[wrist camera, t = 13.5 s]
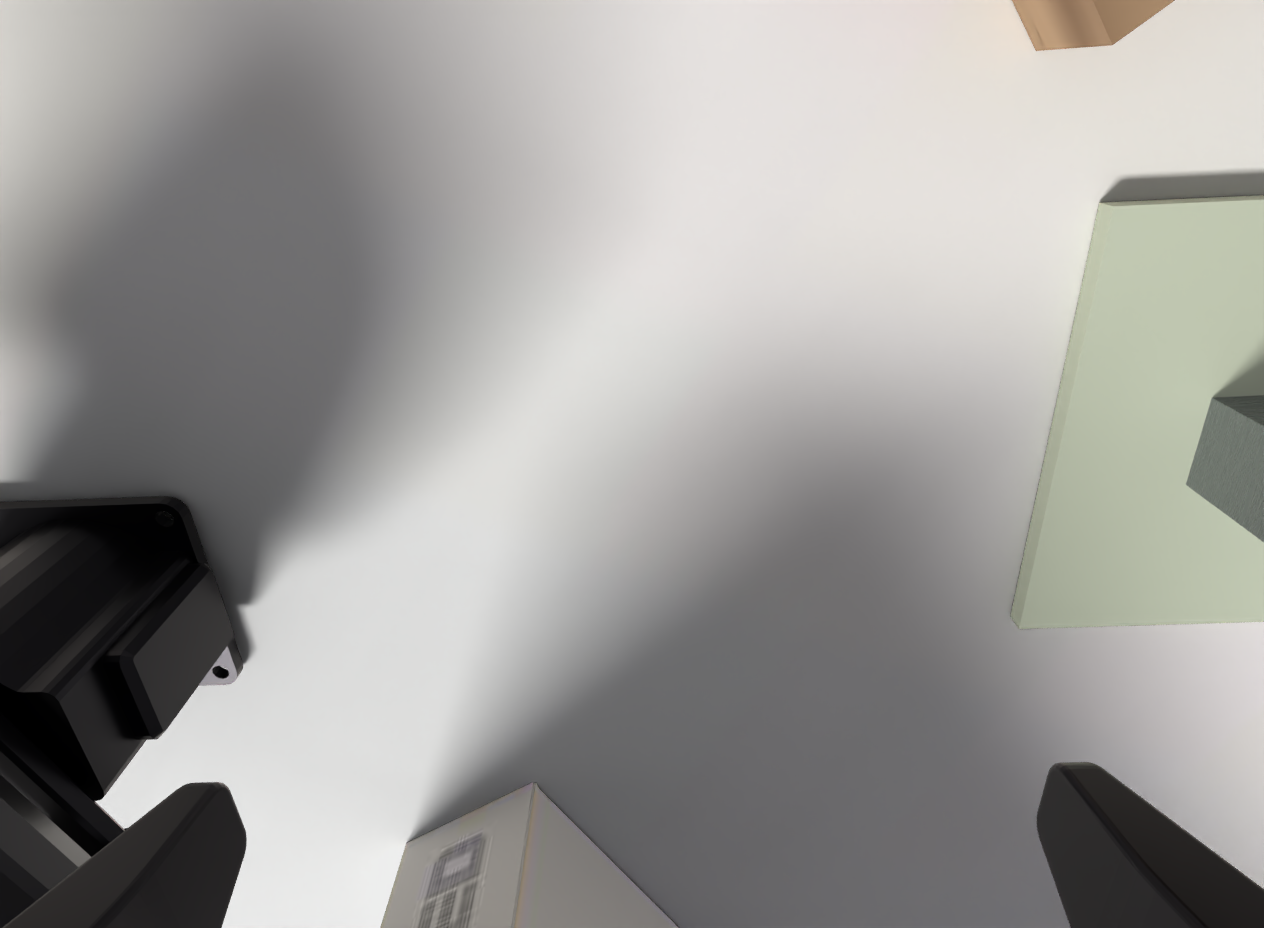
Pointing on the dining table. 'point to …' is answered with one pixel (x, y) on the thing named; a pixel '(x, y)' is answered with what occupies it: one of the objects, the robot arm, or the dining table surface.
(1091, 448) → the mat
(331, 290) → the dining table surface
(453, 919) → the packaging
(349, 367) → the dining table surface
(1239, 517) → the gray rectangular block
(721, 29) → the dining table surface
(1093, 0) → the slotted box
